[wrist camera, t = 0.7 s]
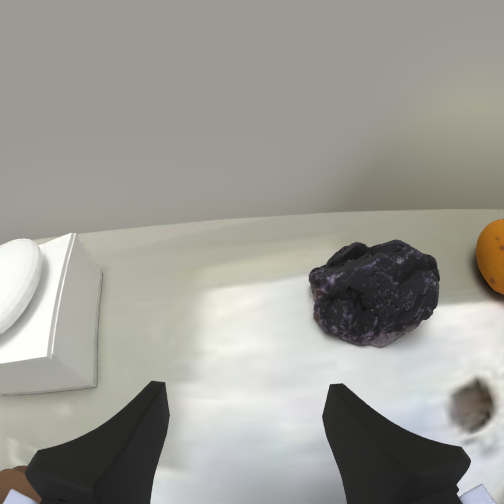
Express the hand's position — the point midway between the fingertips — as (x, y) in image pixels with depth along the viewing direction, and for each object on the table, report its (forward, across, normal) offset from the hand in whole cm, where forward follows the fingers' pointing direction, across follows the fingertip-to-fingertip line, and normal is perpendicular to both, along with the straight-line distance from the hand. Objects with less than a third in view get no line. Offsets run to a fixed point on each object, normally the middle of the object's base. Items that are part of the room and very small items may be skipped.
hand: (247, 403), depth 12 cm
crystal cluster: (+19, -14, +3) cm, 24 cm away
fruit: (+17, -34, -1) cm, 38 cm away
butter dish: (+21, +26, +11) cm, 35 cm away
